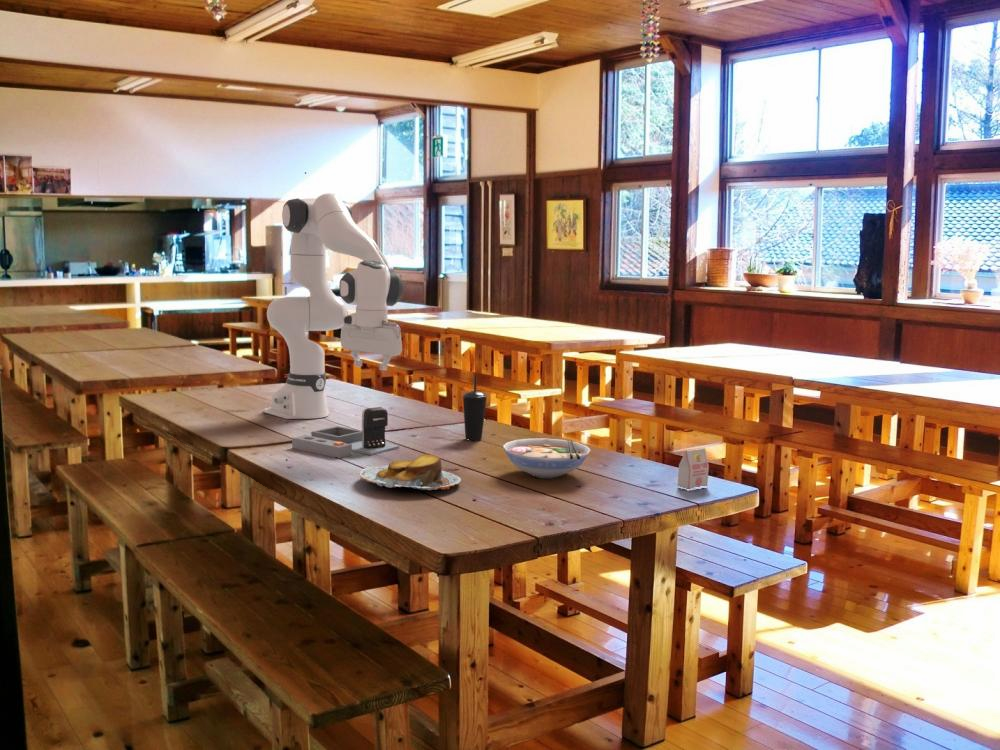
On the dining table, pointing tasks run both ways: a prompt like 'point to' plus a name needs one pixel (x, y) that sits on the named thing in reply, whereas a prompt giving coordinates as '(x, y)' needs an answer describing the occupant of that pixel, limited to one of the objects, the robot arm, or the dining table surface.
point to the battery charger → (374, 427)
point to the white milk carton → (693, 469)
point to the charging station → (328, 441)
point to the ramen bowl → (546, 456)
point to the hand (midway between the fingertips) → (370, 368)
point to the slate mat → (371, 451)
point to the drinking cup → (474, 412)
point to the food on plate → (411, 474)
